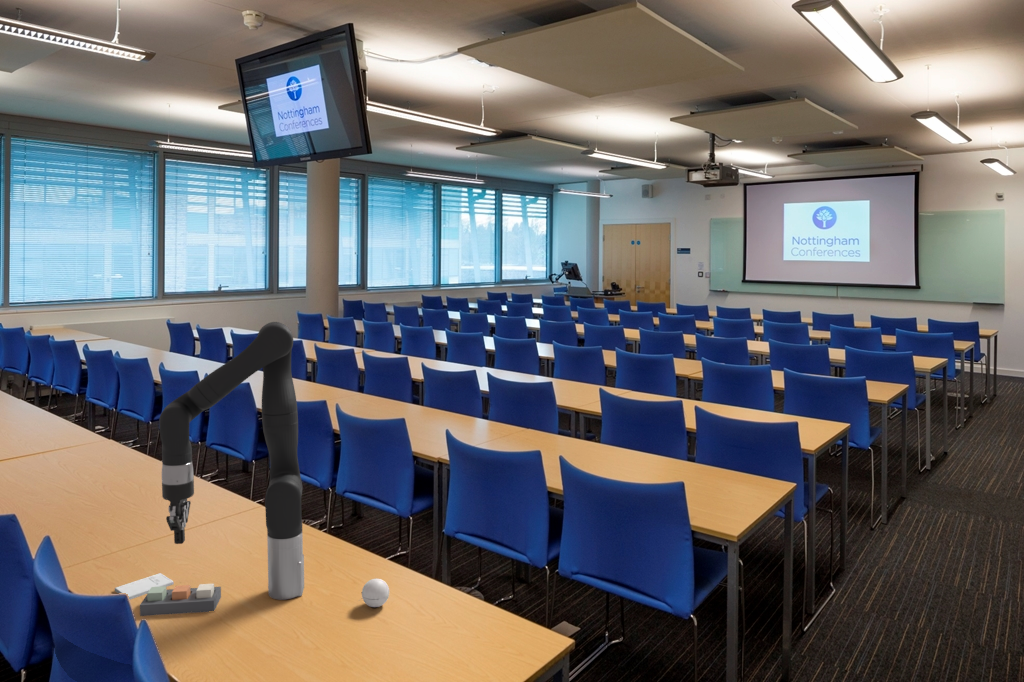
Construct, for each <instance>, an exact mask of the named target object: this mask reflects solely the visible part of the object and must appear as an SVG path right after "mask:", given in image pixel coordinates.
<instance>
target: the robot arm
mask: <svg viewBox="0 0 1024 682" xmlns="http://www.w3.org/2000/svg"><path fill="white" fill-rule="evenodd" d="M293 347H294V335H293V332H292V331H291V329H290V328H289V327H288V326H287V325H286V324H285V323H282V322H279V321H271V322H268V323H266V324H264V325H263V326H262V327H261V328H260V330H259V331H258V333H257V335H256V337H255V338H254V340H252V342H251V343H249V344H248V346H247V347H245V349H243V351H241V352H240V353H239V354H238V355H236V356H235V357H234V358H232V359H231V360H229V361H227V362H226V363H224V364H222V365H221V366H219V367H217V368H216V369H215V370H213V371H212V372H211V373H209V374H208V375H206V376H205V377H203V379H201V380H200V381H198V382H196V384H195V385H194V386H193V387H191V388H190V389H189V390H187V391H186V392H185V393H183V394H181V395H180V396H179V397H177V398H175V399H174V400H173V401H171V402H170V403H169V404H167V405H166V406H165V407H164V408H163V410H162V412H161V413H160V415H159V421H158V422H159V425H158V427H159V434H160V435H159V436H160V441H161V445H162V447H161V457H162V458H161V461H162V462H161V463H162V466H161V492H162V493H161V495H162V496H161V497H162V498H163V500H166V501H168V502H169V503H170V504H169V505H168V508H167V509H168V513H169V515H167V516H166V519H165V520H166V523H167V525H168V527H169V530H170V531H172V532H173V535H174V537H173V540H174V544H175V545H182V544H184V542H185V541H186V536H185V535H186V533H185V530H186V529H185V528H186V526H187V525H186V524H187V523H188V521H189V514H190V508H191V500H188V499H190V498H191V497H193V496H194V494H195V485H194V484H195V481H194V480H195V479H194V477H195V476H194V474H195V473H194V465H193V450H192V449H193V448H192V443H191V441H190V423H191V422H192V421H194V419H195V418H197V417H198V416H199V415H201V413H202V412H204V411H205V410H209V409H210V408H212V407H213V406H215V405H216V404H218V403H219V402H221V401H222V399H224V398H225V397H226V396H228V395H229V394H230V393H231V392H232V391H234V390H235V389H236V388H237V387H238V386H239V385H241V384H242V383H243V382H244V381H246V380H247V379H248V378H250V377H251V376H252V375H254V374H255V373H257V372H258V371H260V370H262V372H263V373H262V374H263V375H262V377H263V379H262V390H261V421H262V430H263V431H262V432H263V435H264V440H265V444H266V446H267V450H268V453H269V483H268V486H267V489H266V491H265V497H264V498H265V499H264V500H265V504H264V505H265V506H264V507H265V510H264V511H265V525H266V532H267V534H266V535H267V536H266V537H267V539H266V540H267V578H268V579H267V580H268V583H267V585H268V586H267V588H268V589H267V590H268V596H269V597H270V598H271V599H274V600H281V601H283V600H289V599H294V598H296V597H302V596H303V593H304V588H305V555H304V554H303V553H304V552H303V544H304V543H303V521H302V496H303V489H304V488H303V483H302V478H301V477H302V476H301V471H300V466H299V465H300V464H299V459H298V447H299V446H298V445H299V417H298V415H299V413H298V402H297V396H296V389H295V385H294V379H293V376H292V351H293V350H292V349H293Z"/></svg>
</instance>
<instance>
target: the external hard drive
mask: <svg viewBox="0 0 1024 682" xmlns="http://www.w3.org/2000/svg"><path fill="white" fill-rule="evenodd" d="M172 585H174V581H173V579H171V578H169V577H167V576H166V575H164V574H163V573H161V572H159V573H157V574H153V575H150V576H147V577H144V578H141V579H137V580H134V581H132V582H128V583H126V584H122V585H120V586H116V587H114V592H115V593H117V594H118V593H126V594H128V596H129V599H130V600H132V599H136V598H139V597H142V596H144V595H145V596H146V595H147V593H148V592H149V590H150V589H151V587H161V586H166V588H167V587H169V586H172Z"/></svg>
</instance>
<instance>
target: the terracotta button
mask: <svg viewBox="0 0 1024 682" xmlns="http://www.w3.org/2000/svg"><path fill="white" fill-rule="evenodd" d="M190 588H191V584H181V585H180V584H179V585H175V587H174V588H173V589H174V590H173V591H172V600H180V599H188V598H189V596H190V595H191V591H190Z"/></svg>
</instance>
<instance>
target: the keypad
mask: <svg viewBox="0 0 1024 682" xmlns="http://www.w3.org/2000/svg"><path fill="white" fill-rule="evenodd" d="M197 588H198V587H190V591H191V595H190V596H189V598H188V599H180V600H172V591H173V590H174V588H172V589H170V588H169V589H166V591H167V596H166V597H165V599H164V600H163V601H148V598H147V595H145V597H144V598H143V599H142V601H141V602H140V604H139V616H140V617H147V616H163V615H177V614H178V615H181V614H194V613H195V614H196V613H197V614H199V613H210V612H209V611H214V610H215V611H216V609H217V606H218V604H219V602H220V601H221V598H222V586H214V595H213V597H212V598H196V590H197ZM215 611H214V612H215Z"/></svg>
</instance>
